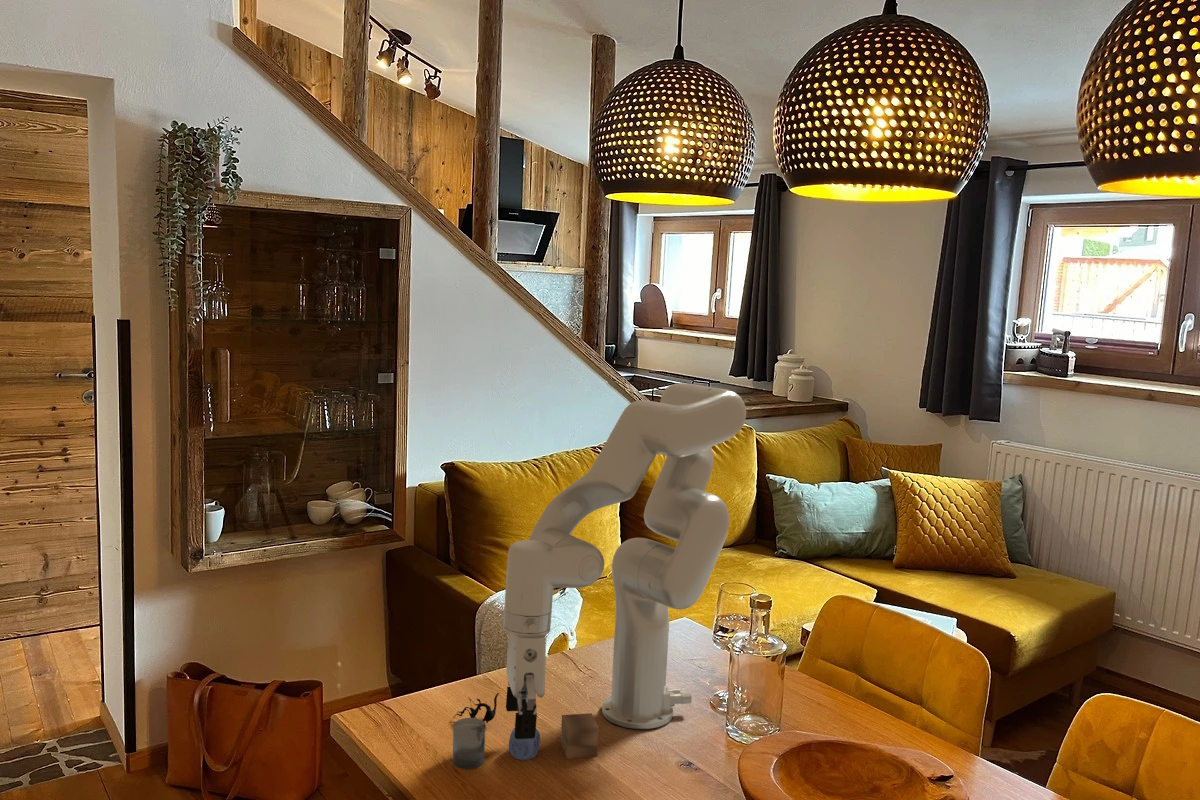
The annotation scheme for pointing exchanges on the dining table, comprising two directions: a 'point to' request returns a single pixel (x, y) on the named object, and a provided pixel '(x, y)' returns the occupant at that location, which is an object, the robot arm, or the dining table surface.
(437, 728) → the dining table surface
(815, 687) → the dining table surface
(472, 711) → the creature
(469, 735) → the dark metal cylinder
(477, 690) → the dining table surface
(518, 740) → the decorative dice
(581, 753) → the walnut block
